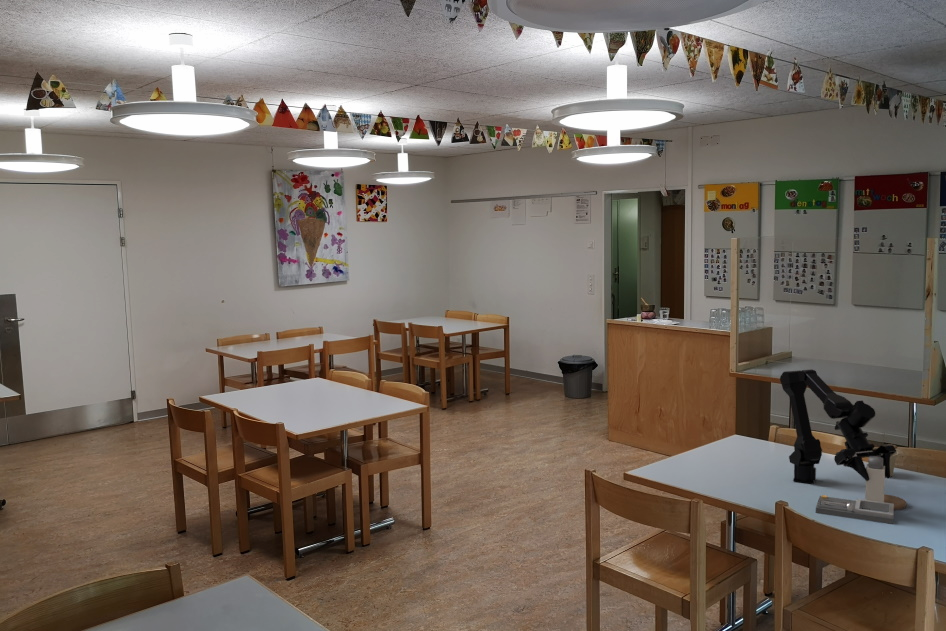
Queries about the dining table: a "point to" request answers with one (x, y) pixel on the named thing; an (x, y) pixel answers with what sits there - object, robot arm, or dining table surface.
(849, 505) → the lever
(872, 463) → the white carton with cap
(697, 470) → the dining table surface
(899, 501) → the disc
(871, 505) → the grey control panel
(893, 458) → the flower pot
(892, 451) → the robot arm
